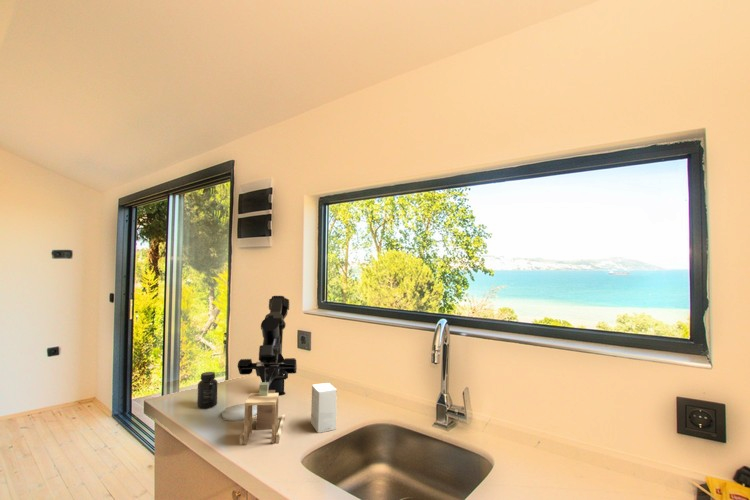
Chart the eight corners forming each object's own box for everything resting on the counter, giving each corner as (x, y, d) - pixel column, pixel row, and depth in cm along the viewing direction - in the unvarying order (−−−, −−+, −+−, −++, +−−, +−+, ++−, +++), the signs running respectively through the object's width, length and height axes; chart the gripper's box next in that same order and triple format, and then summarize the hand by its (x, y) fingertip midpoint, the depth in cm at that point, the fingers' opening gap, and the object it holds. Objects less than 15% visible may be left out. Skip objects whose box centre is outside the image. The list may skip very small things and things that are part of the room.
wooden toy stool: (249, 432, 117) (250, 382, 117) (277, 430, 118) (278, 381, 118) (243, 444, 109) (245, 390, 109) (274, 443, 110) (275, 390, 110)
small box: (336, 429, 120) (337, 389, 121) (317, 433, 117) (318, 392, 118) (328, 420, 127) (329, 382, 128) (310, 423, 125) (311, 384, 125)
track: (251, 419, 127) (251, 412, 127) (285, 417, 128) (285, 411, 128) (239, 444, 109) (239, 436, 109) (278, 443, 111) (278, 434, 111)
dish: (252, 405, 139) (252, 401, 139) (261, 416, 129) (261, 412, 129) (219, 411, 133) (219, 408, 133) (225, 423, 123) (225, 420, 123)
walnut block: (259, 423, 124) (260, 390, 124) (274, 422, 124) (275, 389, 125) (256, 430, 119) (257, 395, 119) (272, 429, 120) (273, 395, 120)
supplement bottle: (220, 402, 141) (221, 371, 141) (210, 409, 134) (212, 376, 135) (203, 401, 142) (204, 370, 142) (193, 408, 135) (194, 375, 135)
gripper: (239, 334, 122) (230, 378, 111) (296, 334, 125) (293, 377, 114) (244, 352, 130) (235, 395, 119) (298, 352, 132) (294, 394, 121)
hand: (264, 390), depth 118 cm, fingers closed, pressing on wooden toy stool
